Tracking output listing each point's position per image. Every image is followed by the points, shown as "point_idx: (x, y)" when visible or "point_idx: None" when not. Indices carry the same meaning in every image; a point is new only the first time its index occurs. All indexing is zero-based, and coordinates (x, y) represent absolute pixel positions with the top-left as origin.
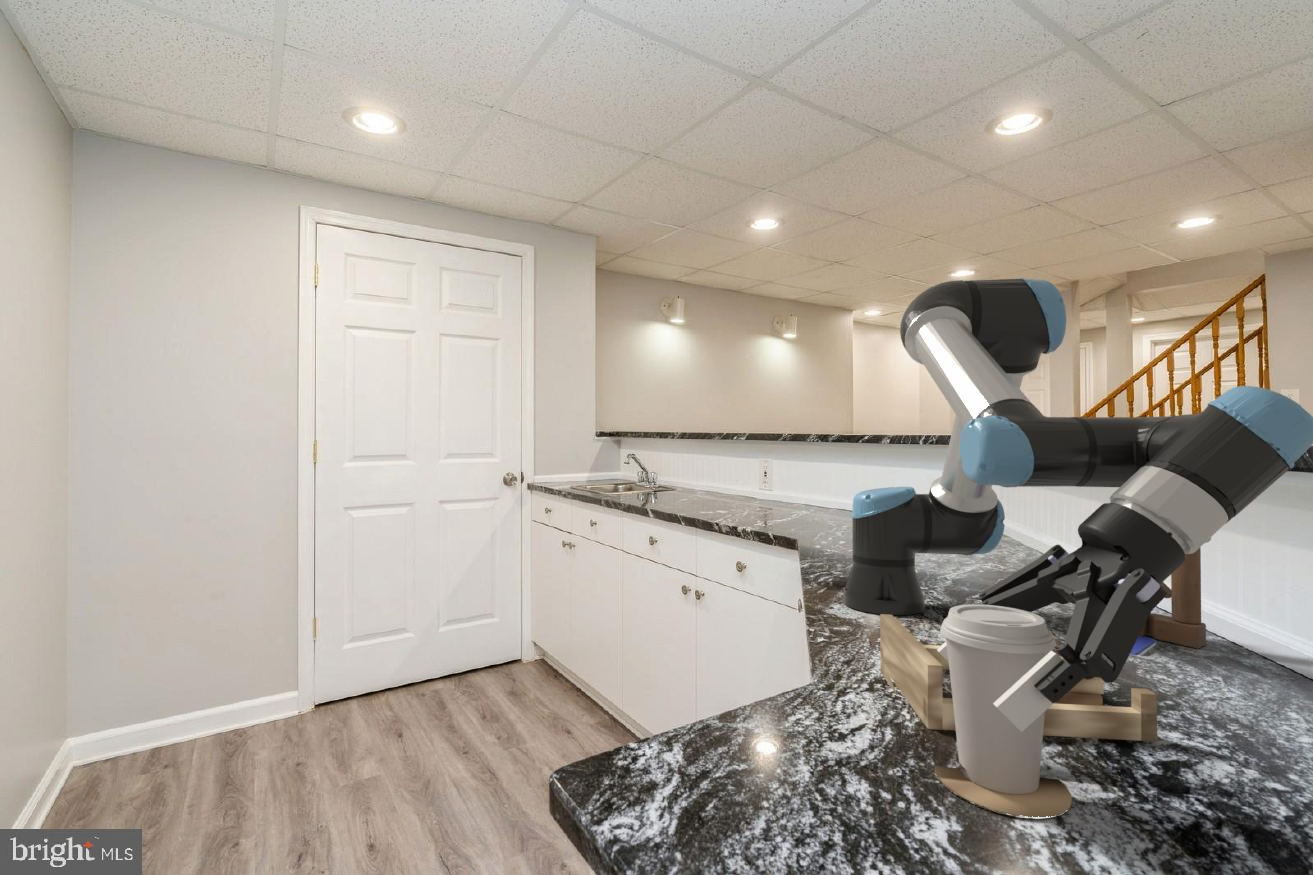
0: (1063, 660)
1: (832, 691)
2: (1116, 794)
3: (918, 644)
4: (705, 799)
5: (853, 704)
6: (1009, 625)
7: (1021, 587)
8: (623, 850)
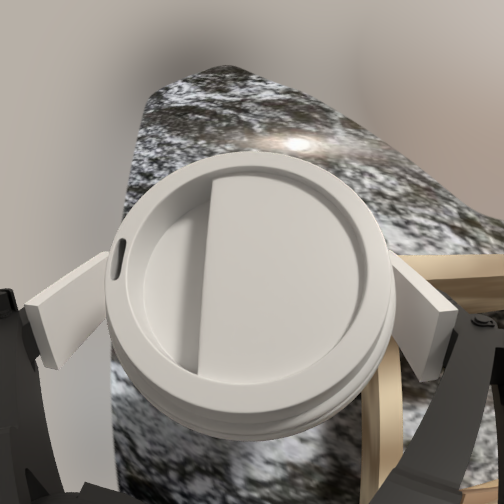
0: (25, 320)
1: (459, 222)
2: (240, 487)
3: (489, 271)
4: (207, 113)
5: (433, 237)
6: (127, 250)
7: (456, 411)
8: (158, 93)
